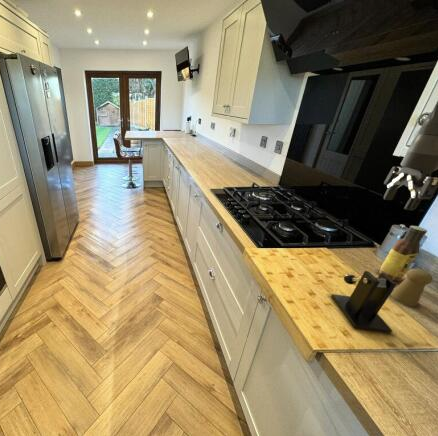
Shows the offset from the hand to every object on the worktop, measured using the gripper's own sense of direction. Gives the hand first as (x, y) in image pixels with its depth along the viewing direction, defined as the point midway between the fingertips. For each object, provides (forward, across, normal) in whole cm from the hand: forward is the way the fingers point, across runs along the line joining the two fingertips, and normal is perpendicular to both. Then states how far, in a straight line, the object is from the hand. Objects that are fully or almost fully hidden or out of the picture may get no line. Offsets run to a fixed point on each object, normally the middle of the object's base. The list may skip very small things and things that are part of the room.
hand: (397, 204), depth 74 cm
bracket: (+28, -20, +12) cm, 37 cm away
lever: (+20, -17, +12) cm, 29 cm away
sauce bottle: (+28, +2, -12) cm, 31 cm away
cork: (+28, -10, -7) cm, 31 cm away
